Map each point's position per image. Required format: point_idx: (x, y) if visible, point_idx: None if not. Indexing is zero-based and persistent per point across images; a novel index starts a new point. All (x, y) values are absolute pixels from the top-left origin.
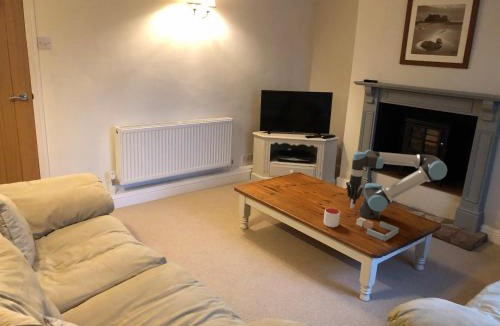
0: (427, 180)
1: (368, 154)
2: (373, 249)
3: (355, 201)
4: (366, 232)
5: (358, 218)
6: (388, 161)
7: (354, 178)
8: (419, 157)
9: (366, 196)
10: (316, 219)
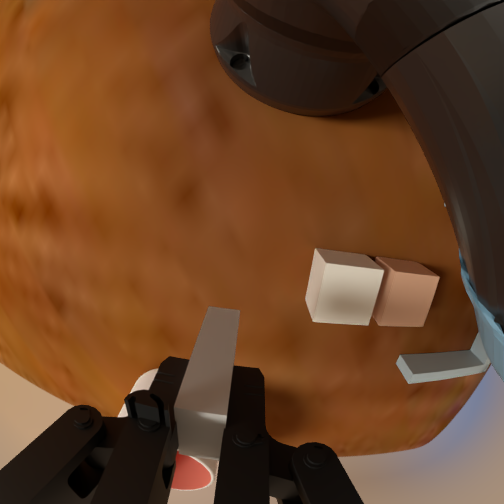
0: None
1: None
2: (427, 431)
3: (262, 407)
4: (399, 368)
5: (319, 296)
6: None
7: None
8: None
9: (450, 102)
10: (95, 380)
